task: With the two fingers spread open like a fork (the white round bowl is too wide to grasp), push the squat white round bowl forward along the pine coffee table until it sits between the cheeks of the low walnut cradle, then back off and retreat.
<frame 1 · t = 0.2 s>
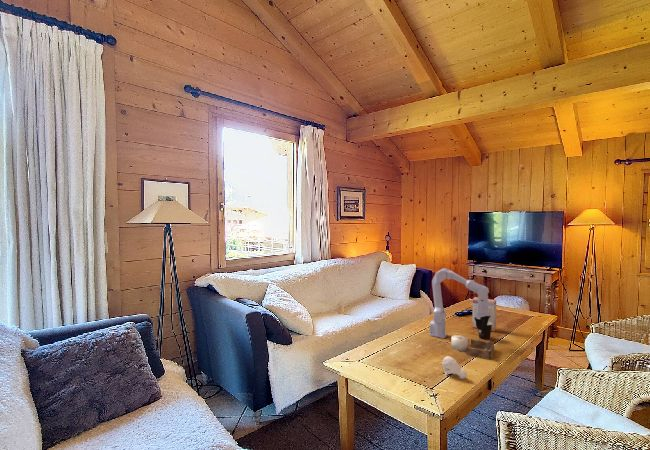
hand: (482, 328, 205), 10 cm above the table, fingers open, 7 cm apart
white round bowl: (459, 347, 200), on the table
coffee mug: (483, 337, 216), on the table
cradle: (479, 351, 194), on the table
white rounded piece: (454, 376, 166), on the table
cracker box: (484, 329, 232), on the table
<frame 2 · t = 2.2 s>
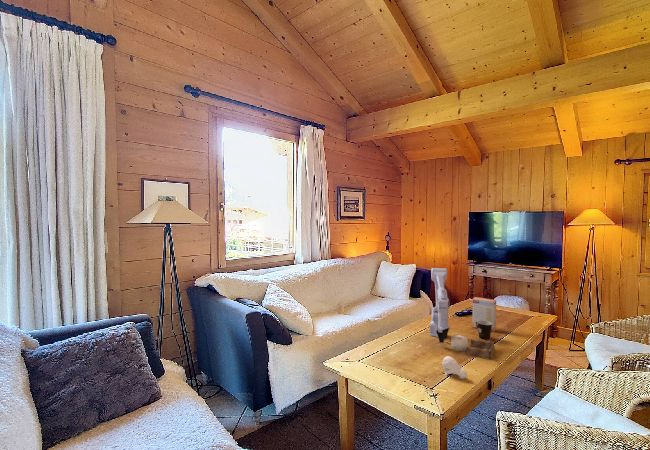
hand: (443, 340, 205), 2 cm above the table, fingers open, 7 cm apart
nothing on the table moved.
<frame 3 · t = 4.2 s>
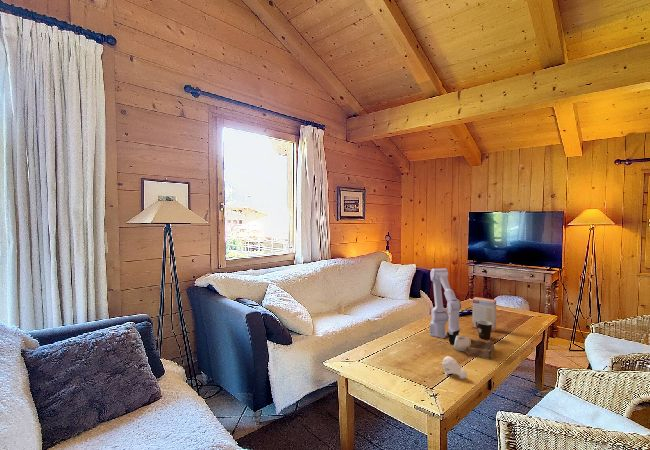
hand: (453, 342, 201), 2 cm above the table
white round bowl: (461, 348, 199), on the table, touching gripper
everything else where it was.
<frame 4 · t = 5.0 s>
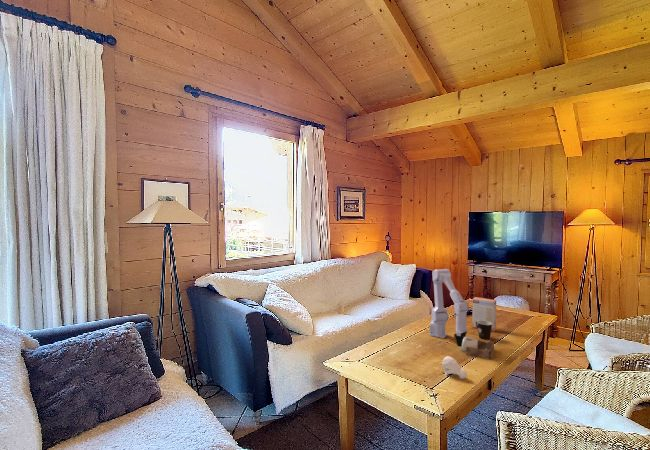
hand: (460, 344, 199), 2 cm above the table
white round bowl: (468, 349, 197), on the table, touching gripper
everything else where it was.
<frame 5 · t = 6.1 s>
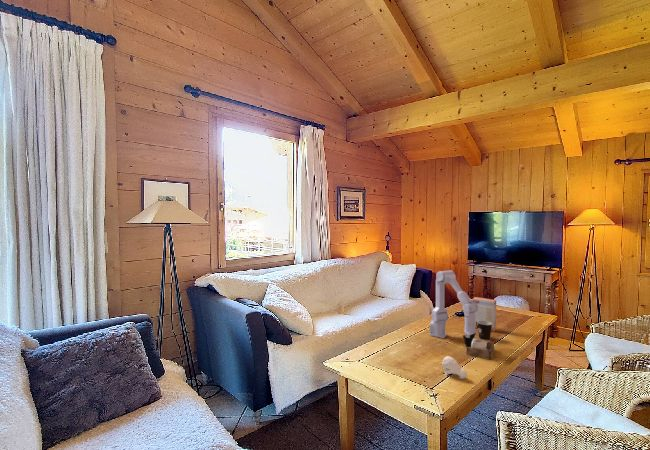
hand: (469, 345, 197), 2 cm above the table
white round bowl: (477, 351, 194), on the table, touching gripper
everything else where it was.
when the fingers open (2 cm above the table, at t = 7.6 s): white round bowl stays where it is, on the table.
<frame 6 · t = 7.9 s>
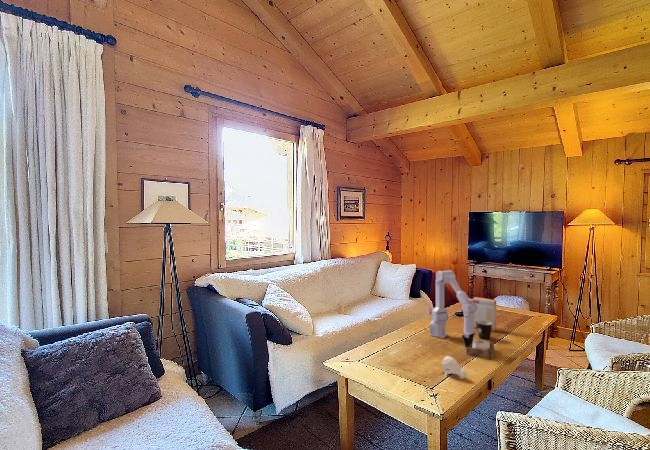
hand: (468, 345, 197), 2 cm above the table, fingers open, 7 cm apart
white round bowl: (480, 352, 193), on the table
everything else where it was.
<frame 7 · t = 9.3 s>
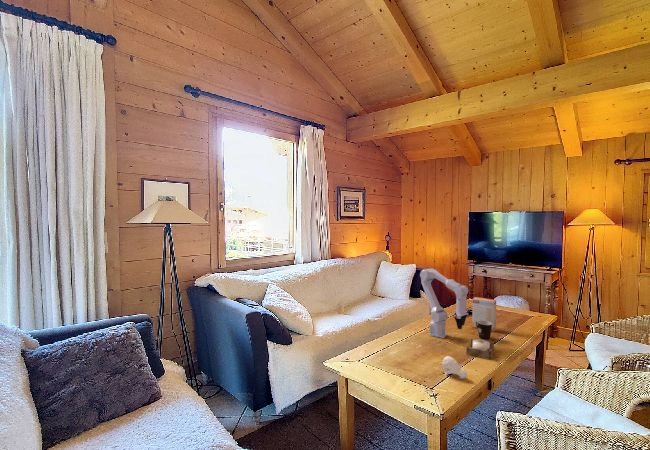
hand: (460, 327, 207), 10 cm above the table, fingers open, 7 cm apart
nothing on the table moved.
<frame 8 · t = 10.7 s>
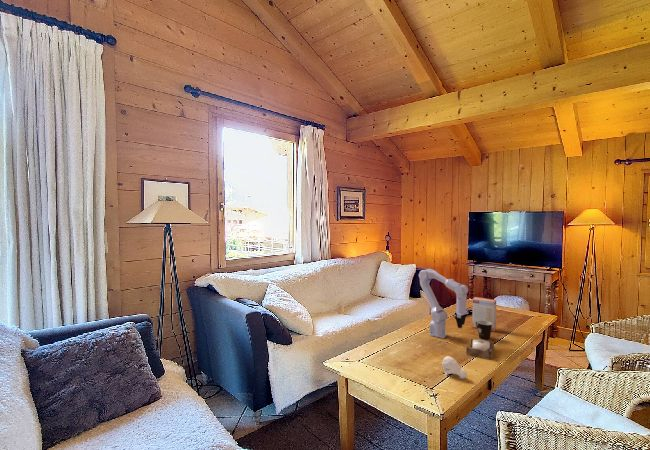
hand: (461, 326, 208), 10 cm above the table, fingers open, 7 cm apart
nothing on the table moved.
at the end: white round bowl inside the target area on the cradle (1.6 cm from its centre), point 0.0 cm above the cradle's base; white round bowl tilted 0°; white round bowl moved 11.8 cm from its start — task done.
